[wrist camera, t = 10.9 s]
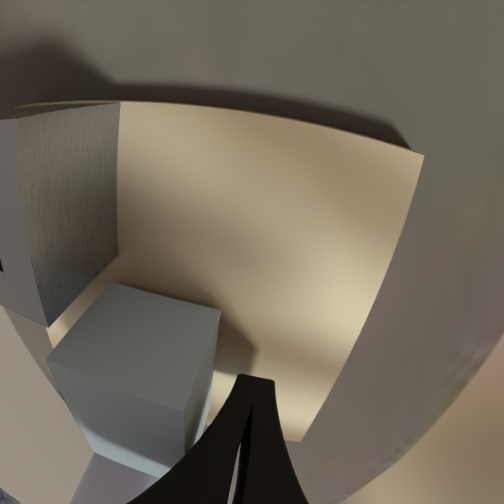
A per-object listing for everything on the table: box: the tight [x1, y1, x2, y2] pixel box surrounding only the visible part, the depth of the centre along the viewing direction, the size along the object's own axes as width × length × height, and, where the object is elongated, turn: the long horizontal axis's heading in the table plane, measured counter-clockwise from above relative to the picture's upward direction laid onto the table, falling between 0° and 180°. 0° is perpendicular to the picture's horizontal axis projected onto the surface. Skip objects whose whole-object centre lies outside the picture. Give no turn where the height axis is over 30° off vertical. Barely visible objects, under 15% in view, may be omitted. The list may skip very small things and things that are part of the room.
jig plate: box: [15, 100, 424, 442], centre depth 10 cm, size 14×14×4 cm
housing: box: [46, 282, 221, 478], centre depth 10 cm, size 6×4×4 cm, turn 171°
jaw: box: [0, 103, 121, 328], centre depth 7 cm, size 5×5×4 cm
